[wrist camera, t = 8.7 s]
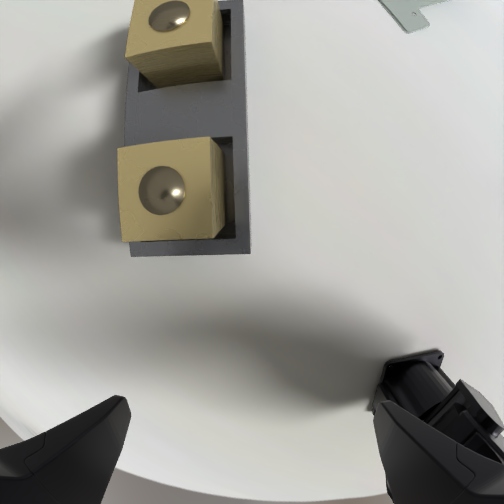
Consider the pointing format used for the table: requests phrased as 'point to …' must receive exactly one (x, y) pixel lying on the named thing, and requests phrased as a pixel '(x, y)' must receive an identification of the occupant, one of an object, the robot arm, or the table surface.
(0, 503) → the robot arm
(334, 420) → the table surface
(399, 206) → the table surface
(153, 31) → the tan knobbed block
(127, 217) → the block
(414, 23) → the metal bracket
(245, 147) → the grey slotted tray
